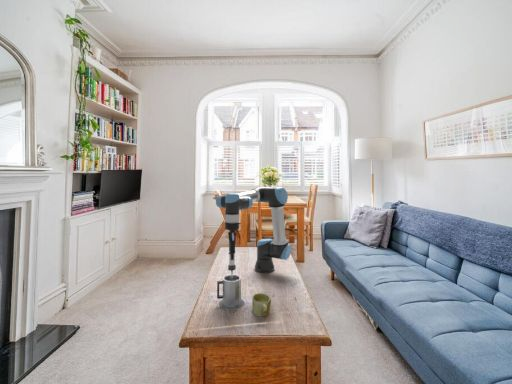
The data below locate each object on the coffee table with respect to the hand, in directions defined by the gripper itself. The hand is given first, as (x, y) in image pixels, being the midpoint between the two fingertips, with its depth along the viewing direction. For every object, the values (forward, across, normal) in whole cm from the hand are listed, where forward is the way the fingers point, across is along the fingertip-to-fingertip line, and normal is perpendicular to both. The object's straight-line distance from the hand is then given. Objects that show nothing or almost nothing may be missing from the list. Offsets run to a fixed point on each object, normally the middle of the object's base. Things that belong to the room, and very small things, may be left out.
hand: (231, 265), depth 136 cm
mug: (+22, +13, +14) cm, 29 cm away
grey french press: (+21, 0, -1) cm, 21 cm away
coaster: (+22, 0, 0) cm, 22 cm away
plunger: (+14, 0, 0) cm, 14 cm away
